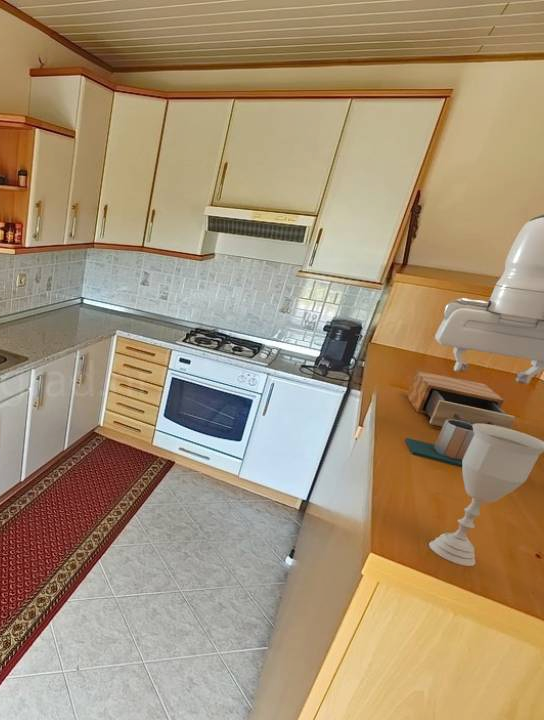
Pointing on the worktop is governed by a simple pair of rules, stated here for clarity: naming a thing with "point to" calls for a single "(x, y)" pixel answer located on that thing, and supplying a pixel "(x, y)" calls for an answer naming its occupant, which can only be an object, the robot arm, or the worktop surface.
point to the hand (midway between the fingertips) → (489, 376)
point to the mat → (429, 452)
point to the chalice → (488, 481)
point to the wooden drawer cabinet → (447, 389)
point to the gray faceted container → (454, 439)
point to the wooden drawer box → (464, 409)
